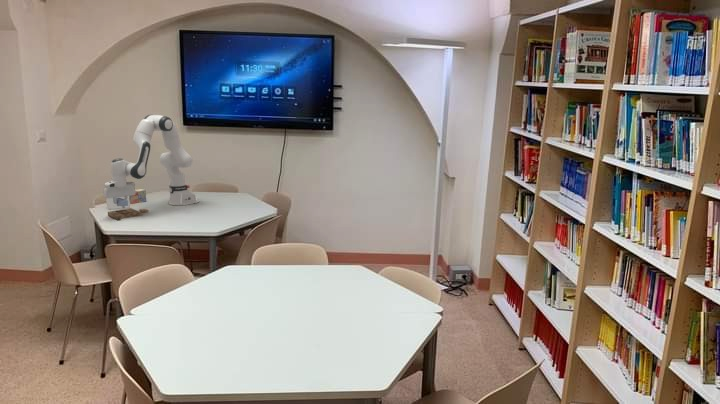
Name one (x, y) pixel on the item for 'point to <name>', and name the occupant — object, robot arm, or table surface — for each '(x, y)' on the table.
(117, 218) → the board
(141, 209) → the block
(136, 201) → the stack of blocks
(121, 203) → the strip
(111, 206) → the cable organizer
